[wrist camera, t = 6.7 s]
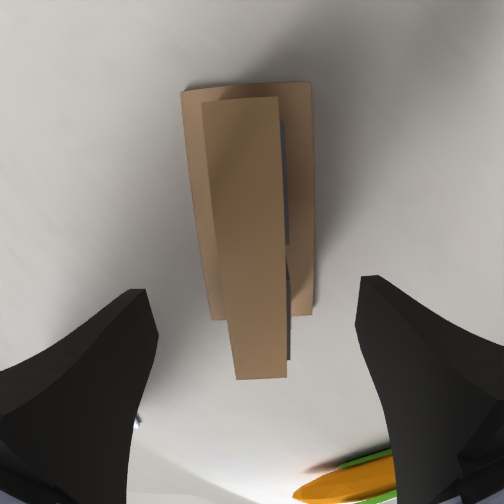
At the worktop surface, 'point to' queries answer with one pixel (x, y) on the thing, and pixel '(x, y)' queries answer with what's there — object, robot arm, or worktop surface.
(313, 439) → the worktop surface
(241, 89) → the display stand
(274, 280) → the long wooden plank
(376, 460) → the corn
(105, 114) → the worktop surface
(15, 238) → the worktop surface
